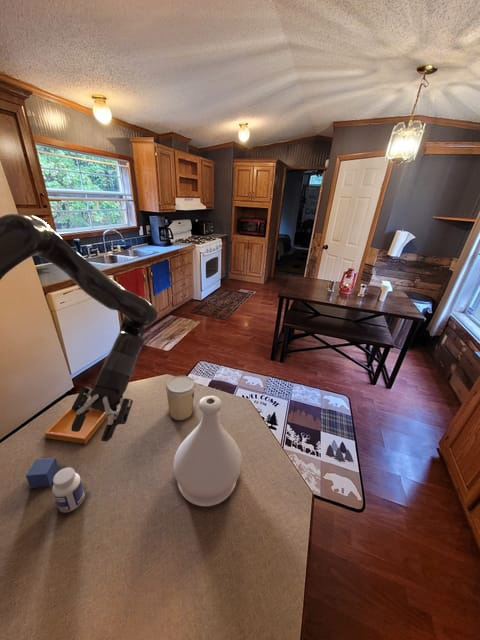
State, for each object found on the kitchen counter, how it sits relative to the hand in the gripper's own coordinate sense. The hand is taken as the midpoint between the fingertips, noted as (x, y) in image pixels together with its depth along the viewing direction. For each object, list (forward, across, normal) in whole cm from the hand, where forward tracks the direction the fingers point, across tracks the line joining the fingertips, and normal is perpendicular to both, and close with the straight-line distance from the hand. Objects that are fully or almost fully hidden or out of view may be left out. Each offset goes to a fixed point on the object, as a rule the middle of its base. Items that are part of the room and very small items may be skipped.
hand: (89, 436), depth 61 cm
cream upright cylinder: (-10, +10, +28) cm, 31 cm away
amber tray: (+1, -16, +16) cm, 23 cm away
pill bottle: (+14, 0, +4) cm, 15 cm away
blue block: (+13, -10, +5) cm, 17 cm away
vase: (+3, +28, +15) cm, 32 cm away
